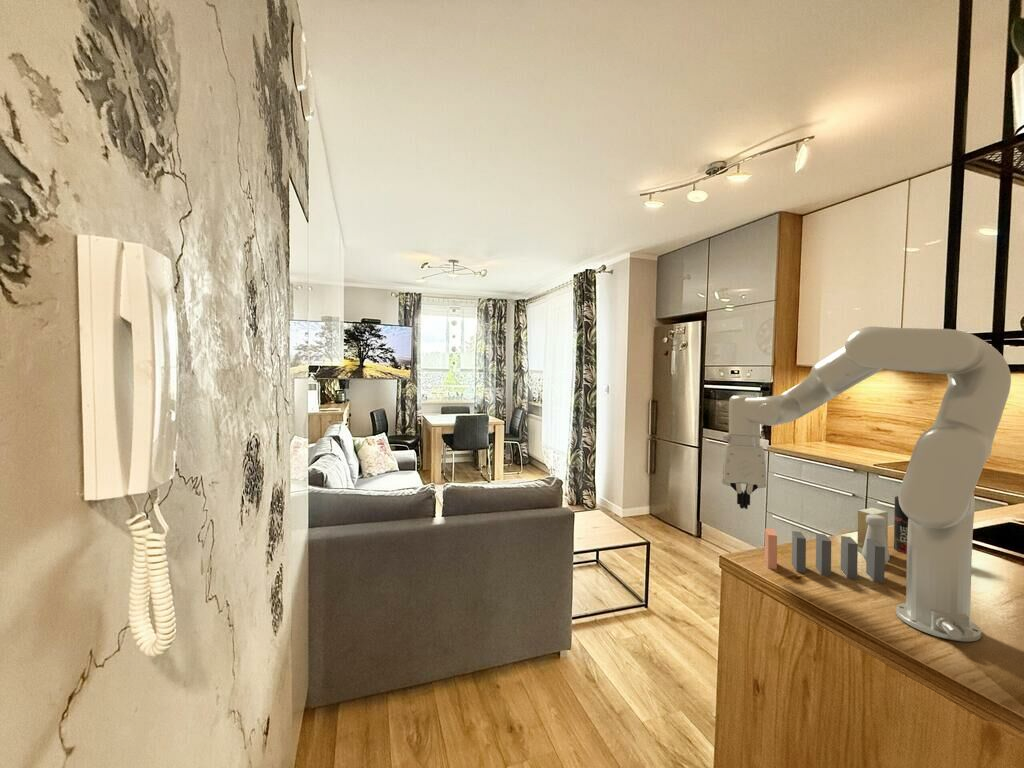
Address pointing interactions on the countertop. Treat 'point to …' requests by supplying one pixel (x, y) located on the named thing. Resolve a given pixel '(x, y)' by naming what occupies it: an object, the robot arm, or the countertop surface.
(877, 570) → the tile
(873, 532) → the salt shaker
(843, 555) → the tile
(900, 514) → the deodorant
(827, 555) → the tile
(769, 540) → the head tile
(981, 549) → the countertop surface
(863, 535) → the skincare box
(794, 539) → the tile
